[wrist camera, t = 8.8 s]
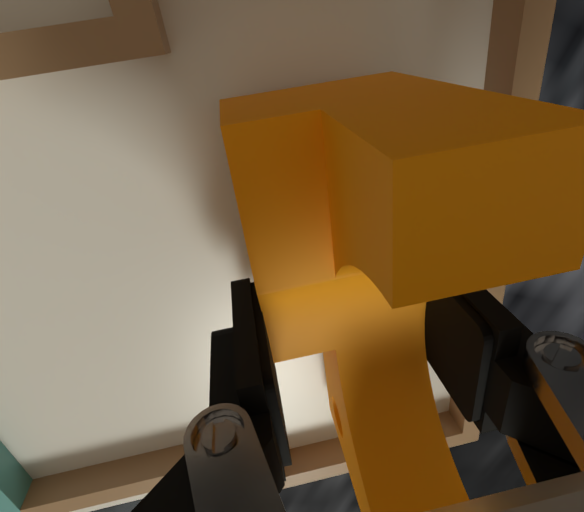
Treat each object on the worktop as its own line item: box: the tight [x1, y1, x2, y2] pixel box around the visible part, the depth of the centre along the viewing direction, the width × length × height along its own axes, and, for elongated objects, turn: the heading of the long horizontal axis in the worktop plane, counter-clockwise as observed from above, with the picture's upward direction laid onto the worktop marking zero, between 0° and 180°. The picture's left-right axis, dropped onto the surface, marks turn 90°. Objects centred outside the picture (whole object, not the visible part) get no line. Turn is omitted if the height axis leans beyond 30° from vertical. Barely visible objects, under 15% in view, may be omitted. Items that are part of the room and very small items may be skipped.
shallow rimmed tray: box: [0, 0, 556, 512], centre depth 12 cm, size 21×20×2 cm
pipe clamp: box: [219, 71, 584, 512], centre depth 10 cm, size 12×4×6 cm, turn 7°
